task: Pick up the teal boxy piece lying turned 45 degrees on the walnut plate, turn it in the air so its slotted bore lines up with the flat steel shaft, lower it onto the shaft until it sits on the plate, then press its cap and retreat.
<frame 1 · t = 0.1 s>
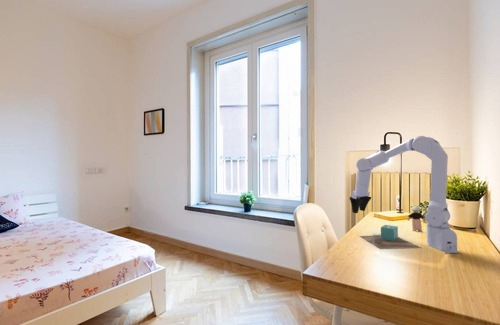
hand: (358, 211, 125), 11 cm above the table, tool pointing down, fingers open, 7 cm apart
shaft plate: (387, 244, 108), on the table
teal boxy piece: (389, 238, 112), point 1 cm above the table, touching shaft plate
grandmother figurine: (416, 232, 127), on the table
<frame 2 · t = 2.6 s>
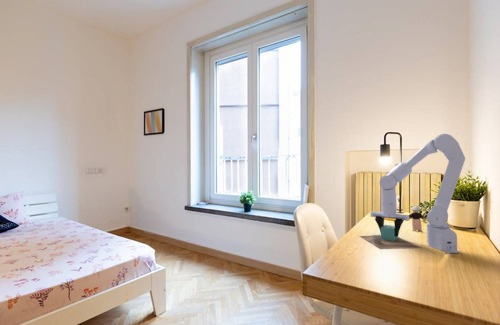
hand: (389, 235, 112), 3 cm above the table, tool pointing down, fingers closed on teal boxy piece, 5 cm apart
teal boxy piece: (389, 238, 112), point 1 cm above the table, touching gripper, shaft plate
everything else where it was.
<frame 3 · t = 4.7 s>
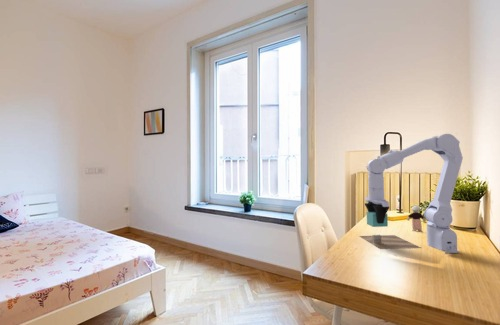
hand: (376, 221, 107), 10 cm above the table, tool pointing down, fingers closed on teal boxy piece, 5 cm apart
teal boxy piece: (377, 225, 107), point 8 cm above the table, touching gripper
everything else where it was.
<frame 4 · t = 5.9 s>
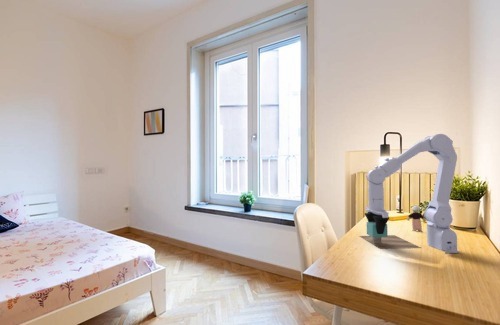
hand: (376, 232, 107), 5 cm above the table, tool pointing down, fingers closed on teal boxy piece, 5 cm apart
teal boxy piece: (376, 235, 107), point 4 cm above the table, touching gripper
everything else where it was.
when the fingers open (3 cm above the table, at t = 6.9 s): teal boxy piece stays where it is, resting on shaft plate.
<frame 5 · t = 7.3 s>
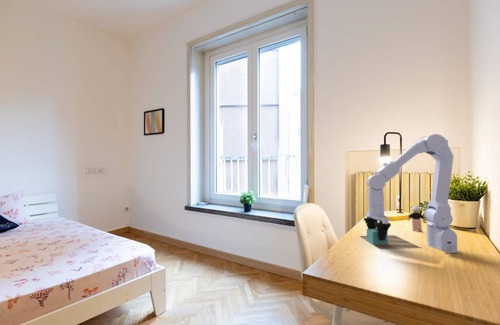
hand: (376, 237, 107), 3 cm above the table, tool pointing down, fingers open, 7 cm apart
teal boxy piece: (377, 242, 107), point 1 cm above the table, touching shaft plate
everything else where it was.
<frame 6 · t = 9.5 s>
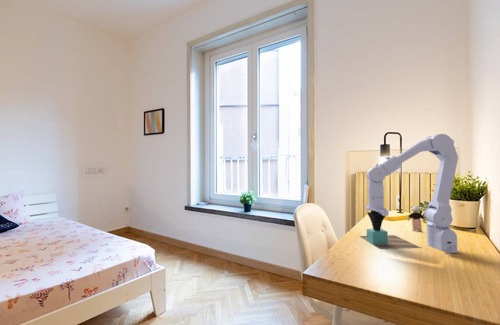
hand: (376, 230, 107), 6 cm above the table, tool pointing down, fingers closed, pressing on teal boxy piece
teal boxy piece: (377, 242, 107), point 1 cm above the table, touching gripper, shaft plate
everything else where it was.
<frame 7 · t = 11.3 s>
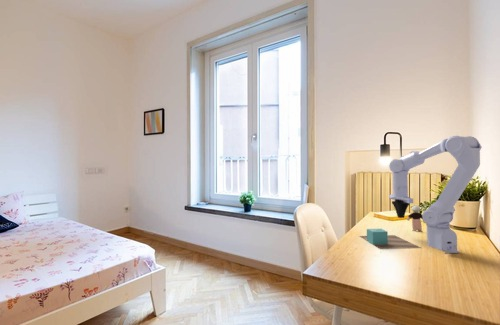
hand: (400, 217, 115), 9 cm above the table, tool pointing down, fingers closed
teal boxy piece: (377, 242, 107), point 1 cm above the table, touching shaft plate
everything else where it was.
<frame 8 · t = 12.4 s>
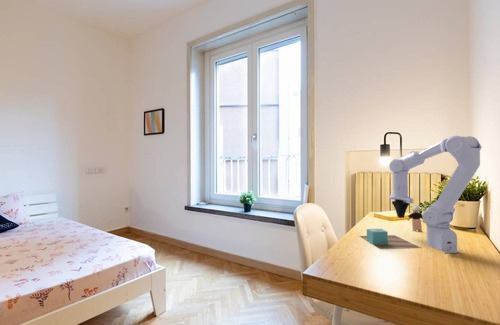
hand: (400, 217, 115), 9 cm above the table, tool pointing down, fingers closed
nothing on the table moved.
at the end: teal boxy piece 0.0 cm from the target spot on the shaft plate, point 1.2 cm above the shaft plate's base; teal boxy piece tilted 0°; the gripper is holding nothing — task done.
